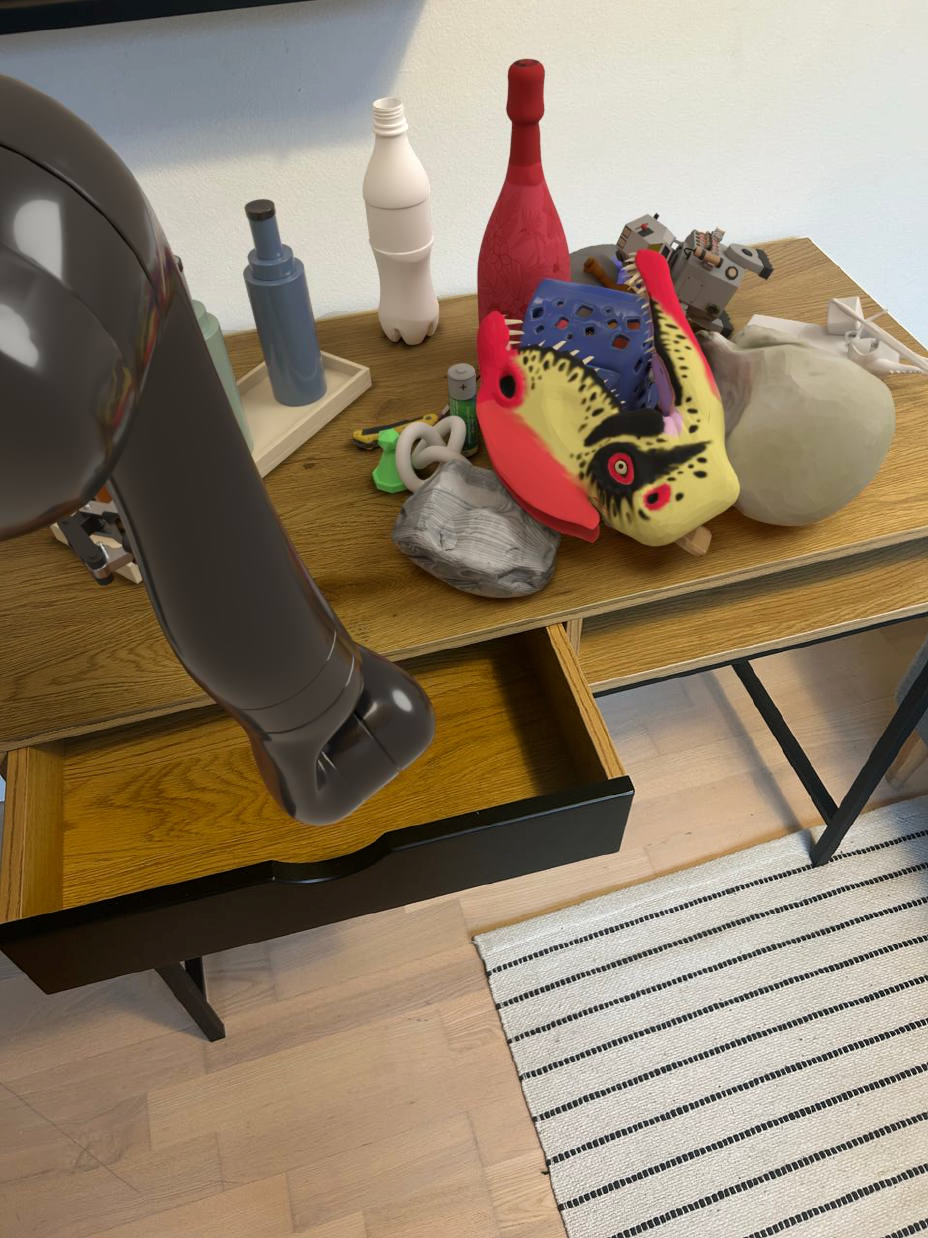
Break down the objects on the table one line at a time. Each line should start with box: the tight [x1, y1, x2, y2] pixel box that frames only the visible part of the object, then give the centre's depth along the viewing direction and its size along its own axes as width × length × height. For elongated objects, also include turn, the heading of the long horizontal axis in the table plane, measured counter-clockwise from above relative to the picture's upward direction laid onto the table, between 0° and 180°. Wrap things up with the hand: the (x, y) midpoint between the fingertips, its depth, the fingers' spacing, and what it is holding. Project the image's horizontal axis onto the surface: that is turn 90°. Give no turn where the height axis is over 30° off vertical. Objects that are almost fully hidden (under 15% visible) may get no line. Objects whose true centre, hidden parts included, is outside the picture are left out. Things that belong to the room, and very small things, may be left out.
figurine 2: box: [745, 295, 928, 381], centre depth 90 cm, size 12×8×25 cm
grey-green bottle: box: [173, 254, 254, 454], centre depth 81 cm, size 6×6×20 cm
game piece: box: [371, 428, 417, 494], centre depth 83 cm, size 4×4×6 cm
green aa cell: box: [433, 372, 481, 426], centre depth 89 cm, size 8×1×5 cm
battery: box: [447, 363, 479, 458], centre depth 84 cm, size 3×3×10 cm
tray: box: [49, 349, 373, 585], centre depth 88 cm, size 35×11×2 cm, turn 147°
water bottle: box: [362, 97, 440, 346], centre depth 93 cm, size 7×7×25 cm
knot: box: [395, 416, 474, 494], centre depth 82 cm, size 8×8×6 cm
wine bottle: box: [476, 58, 570, 350], centre depth 87 cm, size 10×10×30 cm
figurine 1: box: [615, 212, 775, 340], centre depth 96 cm, size 9×12×15 cm
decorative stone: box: [390, 459, 563, 599], centre depth 76 cm, size 14×14×10 cm
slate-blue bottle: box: [242, 198, 327, 407], centre depth 87 cm, size 6×6×20 cm
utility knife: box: [352, 412, 450, 450], centre depth 90 cm, size 16×1×3 cm
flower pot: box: [519, 279, 659, 411], centre depth 84 cm, size 13×13×12 cm
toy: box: [476, 249, 740, 547], centre depth 73 cm, size 7×27×20 cm
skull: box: [649, 325, 897, 527], centre depth 76 cm, size 15×18×20 cm
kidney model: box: [567, 243, 641, 324], centre depth 103 cm, size 15×7×18 cm
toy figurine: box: [583, 257, 638, 328], centre depth 97 cm, size 12×4×7 cm
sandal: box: [598, 510, 713, 558], centre depth 77 cm, size 7×16×5 cm
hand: (129, 461), depth 68 cm, fingers open, 8 cm apart
